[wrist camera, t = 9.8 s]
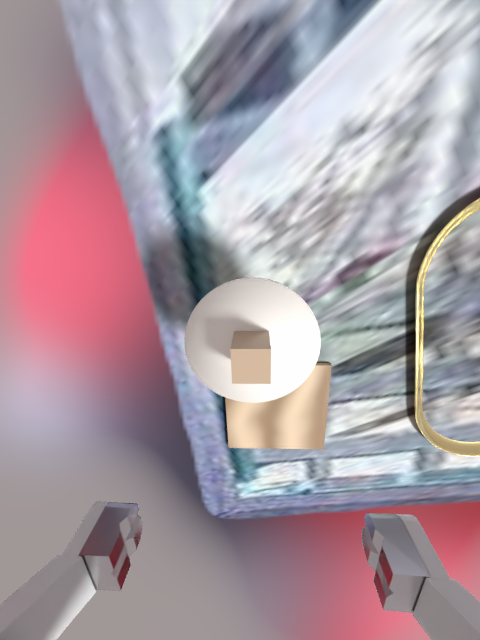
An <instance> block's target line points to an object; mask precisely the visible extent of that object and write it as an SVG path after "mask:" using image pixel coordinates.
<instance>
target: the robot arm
mask: <svg viewBox="0 0 480 640" xmlns="http://www.w3.org/2000/svg"><path fill="white" fill-rule="evenodd" d="M138 511H139V507H138V504H137V503H118V502H100V501H99V502H98V501H97V502H95V503H94V504H93V505H92V506H91V508H90V510H89V511H88V513H87V515H86V516H85V518H84V520H83V521H82V523H81V525H80V526H79V528H78V529H77V531H76V533H75V535H74V536H73V538H72V539H71V541H70V543H69V544H68V546H67V548H66V549H65V551H64V553H63V554H62V555H57V556H56V557H55V558H54V559H53V560H51V561H50V562H49V563H48V564H47V565H46V566H44V567H43V568H42V569H41V570H40V571H39V572H37V573H36V574H35V575H34V576H33V577H32V578H30V579H29V580H28V581H27V582H26V583H25V584H24V585H22V586H21V587H20V588H19V589H18V590H16V591H15V592H14V593H13V594H12V595H11V596H10V597H8V598H7V599H6V600H5V601H4V602H3V603H1V604H0V640H56V639H57V638H58V637H59V636H60V635H61V633H62V632H63V631H64V630H65V629H66V627H67V626H68V625H69V624H70V622H71V621H72V620H73V619H74V617H76V615H77V614H78V613H79V612H80V610H81V609H82V608H83V607H84V606H85V605H86V603H87V602H88V601H89V600H90V599H91V597H92V596H93V595H94V594H95V592H96V590H114V591H120V590H121V589H122V587H123V584H124V581H125V579H126V576H127V574H128V571H129V568H130V566H131V564H130V558H129V557H130V556H131V555H132V554H133V553H134V552H135V551H136V550H137V547H138V544H139V542H140V539H141V534H142V524H143V522H142V519H141V517H140V516H139V515H138ZM364 520H365V523H366V526H365V527H364V528H363V529H362V543H363V548H364V553H365V556H366V559H367V562H368V564H369V565H370V566H371V567H372V568H373V570H374V571H375V576H374V584H375V586H376V590H377V593H378V596H379V598H380V602H381V605H382V608H383V610H391V611H401V612H410V613H413V616H414V617H415V618H416V620H417V621H418V622H419V624H420V625H421V626H422V628H423V629H424V630H425V632H426V633H427V634H428V636H429V637H430V638H431V639H432V640H480V602H479V601H478V600H477V599H476V598H475V597H474V596H473V595H472V594H471V593H469V592H468V591H467V590H466V589H465V588H464V587H463V586H462V585H461V584H460V583H459V582H458V581H457V580H456V579H450V577H449V576H448V574H447V572H446V570H445V568H444V566H443V564H442V563H441V561H440V559H439V557H438V555H437V554H436V552H435V550H434V548H433V546H432V545H431V543H430V541H429V539H428V537H427V536H426V534H425V532H424V530H423V528H422V527H421V525H420V523H419V521H418V519H417V518H416V517H415V516H413V515H400V514H373V513H367V514H366V515H365V519H364Z"/></svg>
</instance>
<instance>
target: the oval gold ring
mask: <svg viewBox="0 0 480 640" xmlns="http://www.w3.org/2000/svg"><path fill="white" fill-rule="evenodd" d="M478 210H480V198H478V199H477V200H475V201H474V202H472V203H471V204H469V205H468V206H466V207H465V208H464V209H463V210H461V211H460V212H459V213H458V214H457V215H455V216H454V217H453V218H452V219H451V220H450V221H449V222H448V223H447V224H446V225H445V226H444V228H443V229H442V230H441V231H440V232H439V234H438V235H437V236H436V238H435V239H434V241H433V242H432V243H431V245H430V247H429V248H428V250H427V252H426V254H425V256H424V258H423V261H422V263H421V266H420V269H419V272H418V276H417V281H416V290H415V408H414V411H415V419H416V423H417V425H418V428H419V430H420V432H421V433H422V434H423V436H424V437H425V438H426V439H427V440H428V441H429V442H430V443H431V444H433V445H434V446H436V447H437V448H439V449H441V450H443V451H446V452H449V453H452V454H456V455H461V456H470V457H480V442H461V441H455V440H451V439H448V438H446V437H443V436H442V435H440V434H438V433H437V432H435V431H434V430H433V429H432V428H431V427H430V426H429V424H428V423H427V421H426V420H425V417H424V415H423V410H422V382H423V324H424V284H425V278H426V273H427V270H428V267H429V264H430V262H431V260H432V258H433V256H434V254H435V252H436V250H437V249H438V247H439V246H440V244H441V243H442V242H443V240H444V239H445V238H446V237H447V235H448V234H449V233H450V232H451V231H452V230H453V229H454V228H455V227H456V226H457V225H459V224H460V223H461V222H462V221H463V220H465V219H466V218H467V217H469V216H470V215H472V214H473V213H475V212H477V211H478ZM466 212H467V213H466ZM454 222H455V223H454ZM451 225H452V226H451ZM450 226H451V227H450ZM442 235H443V236H442ZM425 264H426V265H425ZM420 283H421V284H420ZM419 320H420V323H419ZM418 396H419V398H418ZM418 410H419V411H418ZM420 420H421V421H420Z"/></svg>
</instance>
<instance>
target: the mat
mask: <svg viewBox="0 0 480 640" xmlns="http://www.w3.org/2000/svg"><path fill="white" fill-rule="evenodd" d="M331 366H332V365H331V364H330V363H316V365H315V367H314V369H313V371H312V372H311V374H310V375H309V377H308V378H307V379H306V380H305V381H304V382H303V383H302V384H301V385H300V386H299V387H298V388H296V389H295V390H294V391H292V392H291V393H289V394H287V395H285V396H283V397H280V398H278V399H275V400H271V401H267V402H259V403H248V402H240V401H235V400H232V399H228V398H226V397H225V402H226V417H227V431H228V446H229V448H274V449H324V439H325V428H326V418H327V407H328V397H329V386H330V376H331Z"/></svg>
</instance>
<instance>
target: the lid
mask: <svg viewBox="0 0 480 640" xmlns="http://www.w3.org/2000/svg"><path fill="white" fill-rule="evenodd" d="M184 339H185V351H186V355H187V358H188V361H189V364H190V366H191V368H192V370H193V371H194V373H195V374H196V376H197V377H198V378H199V379H200V380H201V381H202V382H203V383H204V384H205V385H206V386H207V387H208V388H210V389H211V390H212V391H214V392H216V393H217V394H219V395H221V396H223V397H226V398H228V399H232V400H235V401H240V402H248V403H259V402H267V401H271V400H275V399H278V398H280V397H283V396H285V395H287V394H289V393H291V392H292V391H294V390H295V389H296V388H298V387H299V386H300V385H301V384H302V383H303V382H304V381H305V380H306V379H307V378H308V377H309V375H310V374H311V372H312V371H313V369H314V367H315V365H316V363H317V360H318V357H319V352H320V343H321V338H320V330H319V327H318V323H317V320H316V318H315V316H314V314H313V312H312V311H311V309H310V308H309V306H308V305H307V303H306V302H305V301H304V300H303V299H302V298H301V297H300V296H299V295H298V294H297V293H296V292H295V291H293V290H292V289H290V288H289V287H287V286H285V285H283V284H281V283H279V282H276V281H273V280H270V279H264V278H254V277H249V278H240V279H235V280H231V281H228V282H226V283H223V284H221V285H219V286H217V287H216V288H214V289H213V290H211V291H210V292H208V293H207V294H206V295H205V296H204V297H203V298H202V299H201V300H200V302H199V303H198V304H197V305H196V307H195V308H194V310H193V312H192V313H191V315H190V317H189V320H188V322H187V326H186V330H185V338H184Z"/></svg>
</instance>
